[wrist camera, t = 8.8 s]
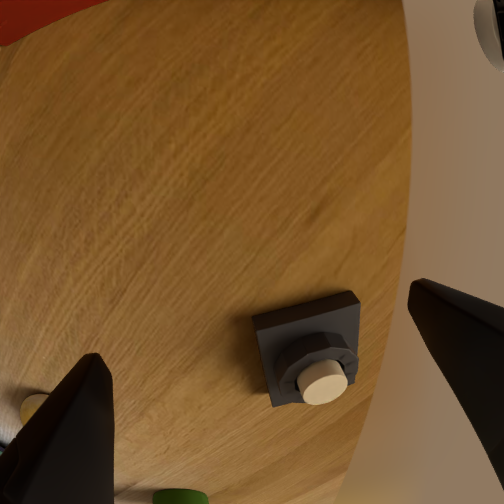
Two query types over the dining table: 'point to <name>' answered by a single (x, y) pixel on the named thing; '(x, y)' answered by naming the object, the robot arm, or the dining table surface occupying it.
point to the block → (307, 342)
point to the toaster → (34, 15)
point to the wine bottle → (180, 497)
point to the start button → (322, 382)
